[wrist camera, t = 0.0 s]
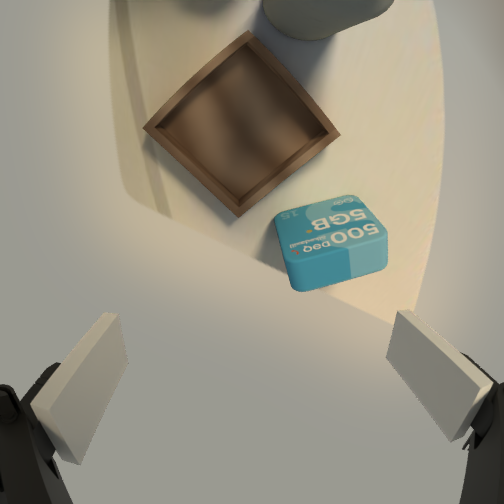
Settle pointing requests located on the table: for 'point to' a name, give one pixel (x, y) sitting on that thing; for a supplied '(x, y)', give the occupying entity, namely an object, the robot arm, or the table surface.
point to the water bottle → (320, 15)
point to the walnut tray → (242, 124)
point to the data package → (331, 242)
